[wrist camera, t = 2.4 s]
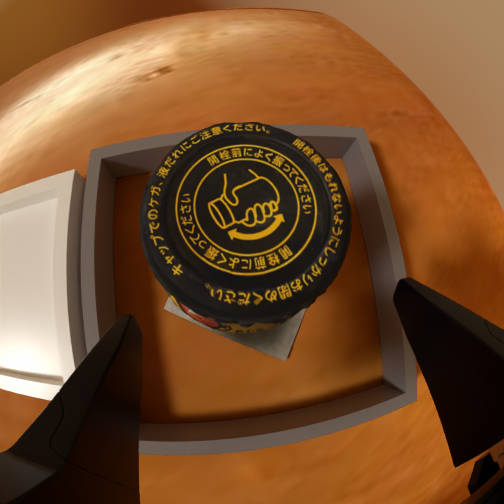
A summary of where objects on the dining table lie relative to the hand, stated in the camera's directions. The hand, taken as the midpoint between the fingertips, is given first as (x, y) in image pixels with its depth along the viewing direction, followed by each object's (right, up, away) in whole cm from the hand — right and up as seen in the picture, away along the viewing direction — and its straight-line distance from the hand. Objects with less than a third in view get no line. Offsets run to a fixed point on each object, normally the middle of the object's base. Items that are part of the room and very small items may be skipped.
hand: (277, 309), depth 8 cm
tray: (-20, -1, +7) cm, 21 cm away
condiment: (-1, 0, +9) cm, 10 cm away
